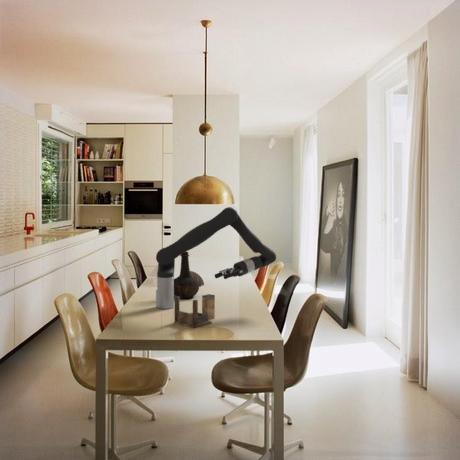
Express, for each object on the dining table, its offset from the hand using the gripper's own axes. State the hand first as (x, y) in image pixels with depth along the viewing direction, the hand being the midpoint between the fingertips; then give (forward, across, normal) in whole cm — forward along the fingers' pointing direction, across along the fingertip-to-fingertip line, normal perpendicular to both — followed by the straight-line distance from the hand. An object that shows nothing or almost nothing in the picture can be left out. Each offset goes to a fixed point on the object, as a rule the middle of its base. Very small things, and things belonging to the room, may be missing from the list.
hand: (219, 276), depth 279 cm
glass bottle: (-6, -57, +17) cm, 60 cm away
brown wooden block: (+12, 0, +18) cm, 22 cm away
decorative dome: (-30, -93, +20) cm, 100 cm away
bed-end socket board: (+24, +4, +16) cm, 29 cm away
